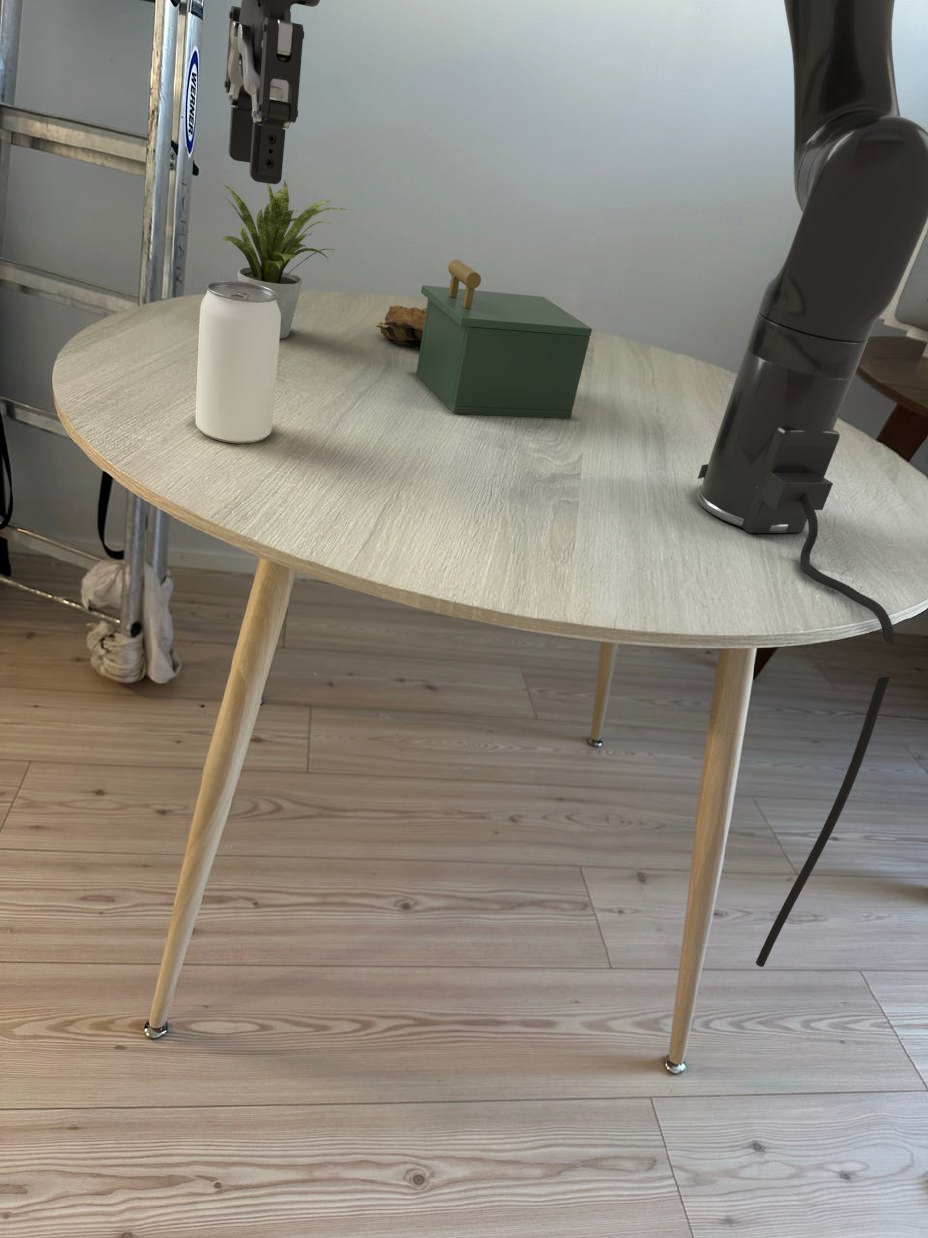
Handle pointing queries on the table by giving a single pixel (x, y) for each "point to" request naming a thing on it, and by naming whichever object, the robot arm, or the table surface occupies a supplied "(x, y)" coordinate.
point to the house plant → (275, 249)
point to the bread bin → (500, 368)
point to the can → (237, 361)
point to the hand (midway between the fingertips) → (253, 170)
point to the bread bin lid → (499, 307)
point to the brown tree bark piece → (403, 323)
